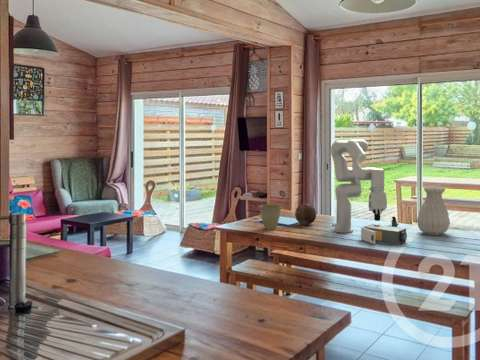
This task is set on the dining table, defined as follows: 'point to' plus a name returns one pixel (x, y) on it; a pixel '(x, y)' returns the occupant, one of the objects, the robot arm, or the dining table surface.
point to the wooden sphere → (305, 214)
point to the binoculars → (394, 222)
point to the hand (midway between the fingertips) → (377, 220)
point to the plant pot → (270, 215)
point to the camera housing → (388, 234)
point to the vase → (433, 213)
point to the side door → (368, 235)
